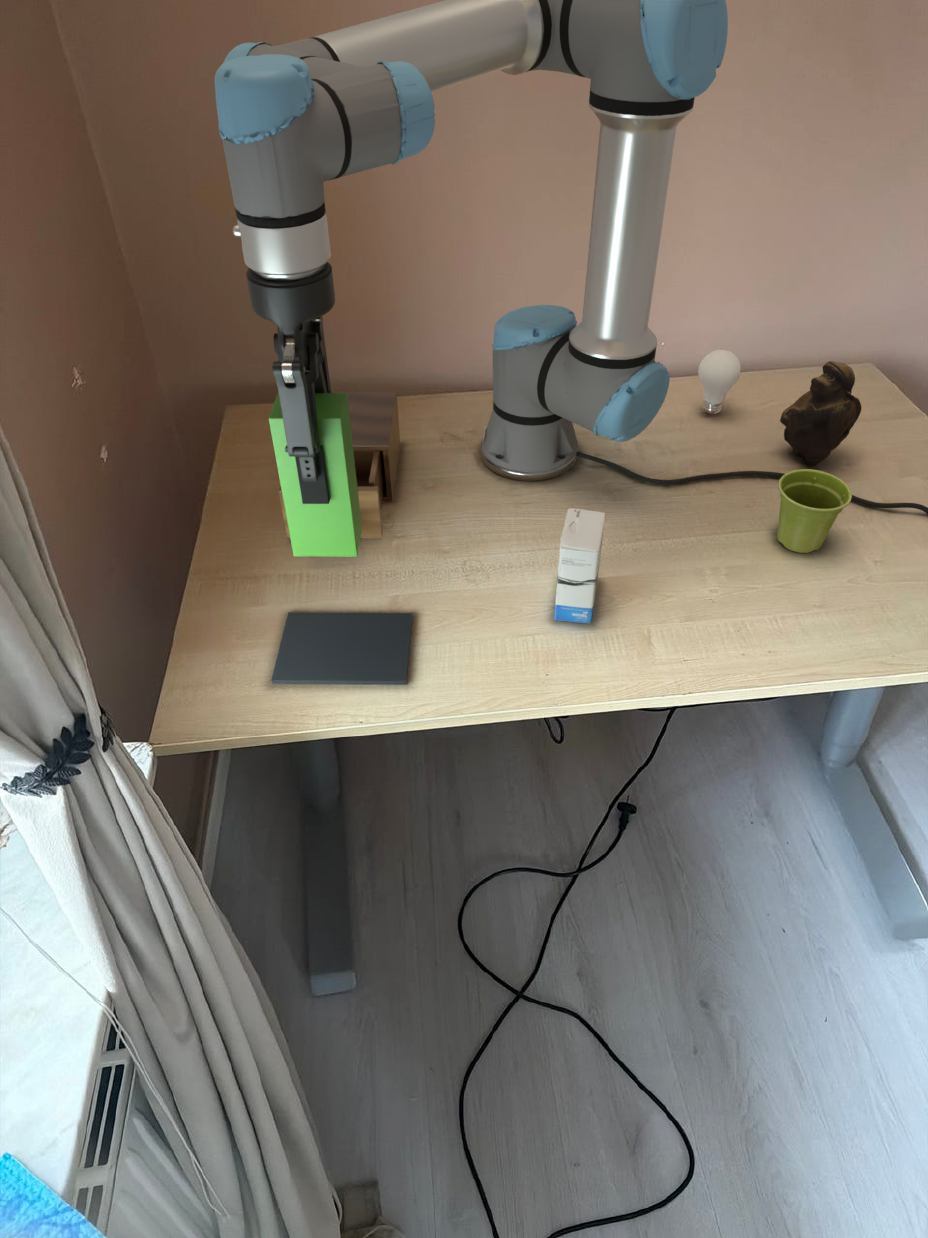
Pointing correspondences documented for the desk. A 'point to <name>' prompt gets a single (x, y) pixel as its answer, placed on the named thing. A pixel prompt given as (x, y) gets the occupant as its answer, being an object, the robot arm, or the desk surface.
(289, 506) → the tall green prism
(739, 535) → the desk surface
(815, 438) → the sculpture
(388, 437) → the cabinet
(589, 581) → the ink box
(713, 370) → the light bulb
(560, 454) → the robot arm
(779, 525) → the plant pot
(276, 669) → the slate mat
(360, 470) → the drawer
